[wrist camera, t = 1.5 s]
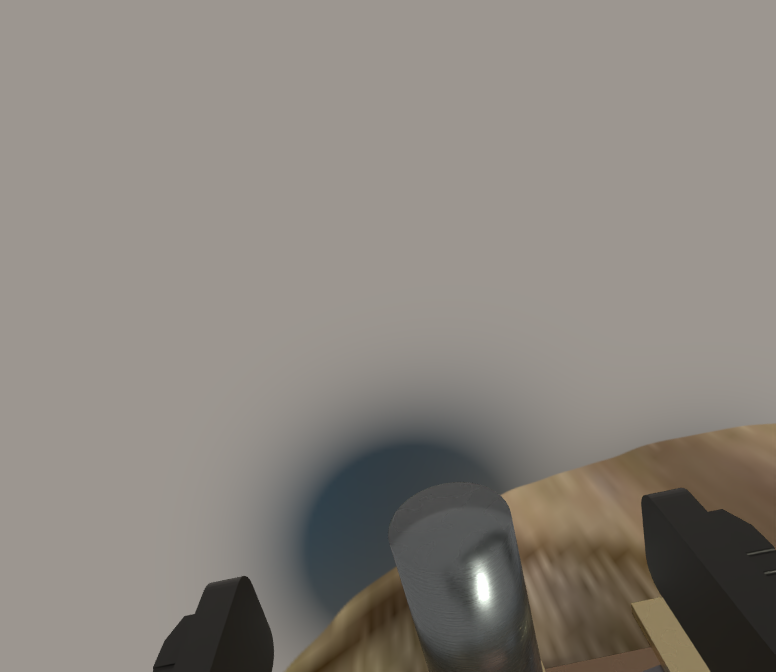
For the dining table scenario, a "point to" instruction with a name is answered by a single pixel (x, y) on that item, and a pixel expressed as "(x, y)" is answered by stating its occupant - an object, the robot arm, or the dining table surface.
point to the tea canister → (464, 580)
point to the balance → (654, 664)
